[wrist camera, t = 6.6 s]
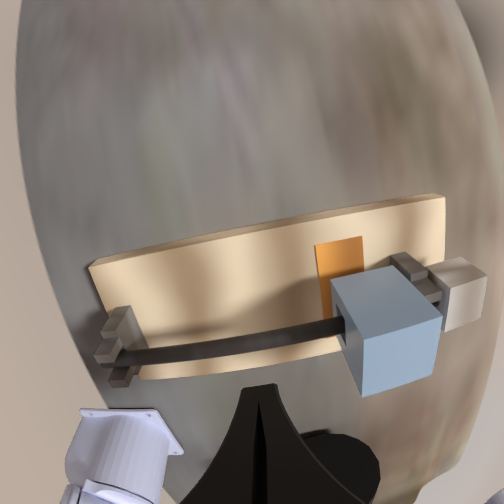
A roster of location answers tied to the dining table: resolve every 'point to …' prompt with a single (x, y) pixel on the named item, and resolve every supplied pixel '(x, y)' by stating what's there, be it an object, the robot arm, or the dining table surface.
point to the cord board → (269, 288)
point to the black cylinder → (348, 463)
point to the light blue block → (385, 329)
